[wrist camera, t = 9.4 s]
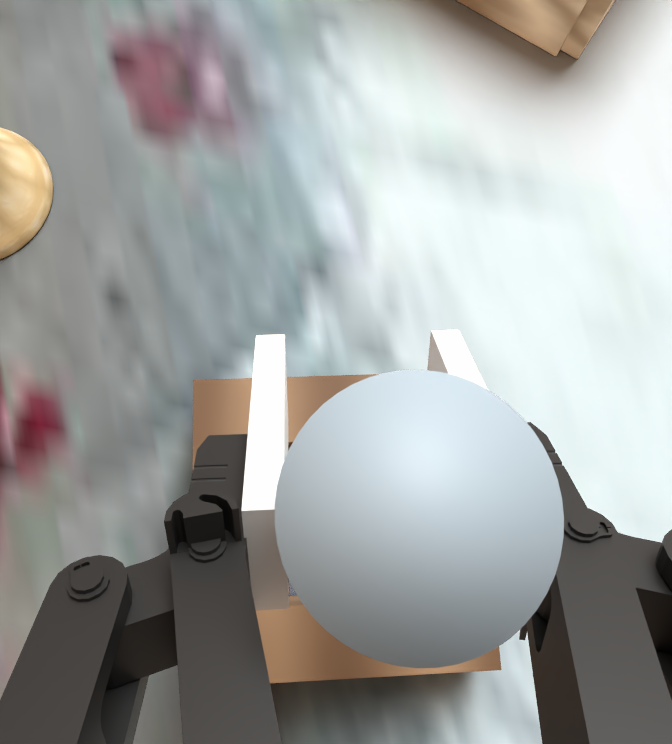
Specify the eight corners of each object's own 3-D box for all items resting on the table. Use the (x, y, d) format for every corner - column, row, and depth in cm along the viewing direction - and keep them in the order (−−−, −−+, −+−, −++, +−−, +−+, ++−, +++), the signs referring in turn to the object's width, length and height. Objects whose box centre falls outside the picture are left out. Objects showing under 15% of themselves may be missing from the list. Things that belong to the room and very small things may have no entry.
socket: (454, 388, 34) (473, 371, 30) (476, 651, 31) (501, 669, 27) (206, 396, 33) (193, 380, 29) (205, 666, 30) (191, 687, 27)
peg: (439, 499, 21) (612, 467, 9) (374, 610, 20) (474, 732, 8) (334, 432, 21) (373, 318, 9) (266, 538, 20) (215, 558, 9)
